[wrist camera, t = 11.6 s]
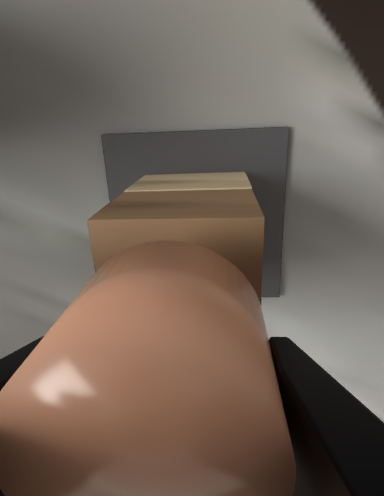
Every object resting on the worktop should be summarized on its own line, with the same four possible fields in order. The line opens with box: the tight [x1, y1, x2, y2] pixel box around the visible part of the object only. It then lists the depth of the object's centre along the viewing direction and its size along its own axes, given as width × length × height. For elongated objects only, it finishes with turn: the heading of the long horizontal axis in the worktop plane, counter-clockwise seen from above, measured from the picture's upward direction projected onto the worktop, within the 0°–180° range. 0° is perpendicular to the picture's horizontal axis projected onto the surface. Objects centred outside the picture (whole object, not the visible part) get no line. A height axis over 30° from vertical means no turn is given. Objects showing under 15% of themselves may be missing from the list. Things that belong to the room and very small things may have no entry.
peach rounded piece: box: [0, 240, 296, 496], centre depth 7 cm, size 5×5×4 cm
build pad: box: [101, 127, 289, 297], centre depth 18 cm, size 9×9×1 cm
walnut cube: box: [87, 189, 265, 305], centre depth 12 cm, size 5×5×4 cm
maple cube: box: [124, 172, 252, 192], centre depth 16 cm, size 5×5×4 cm
